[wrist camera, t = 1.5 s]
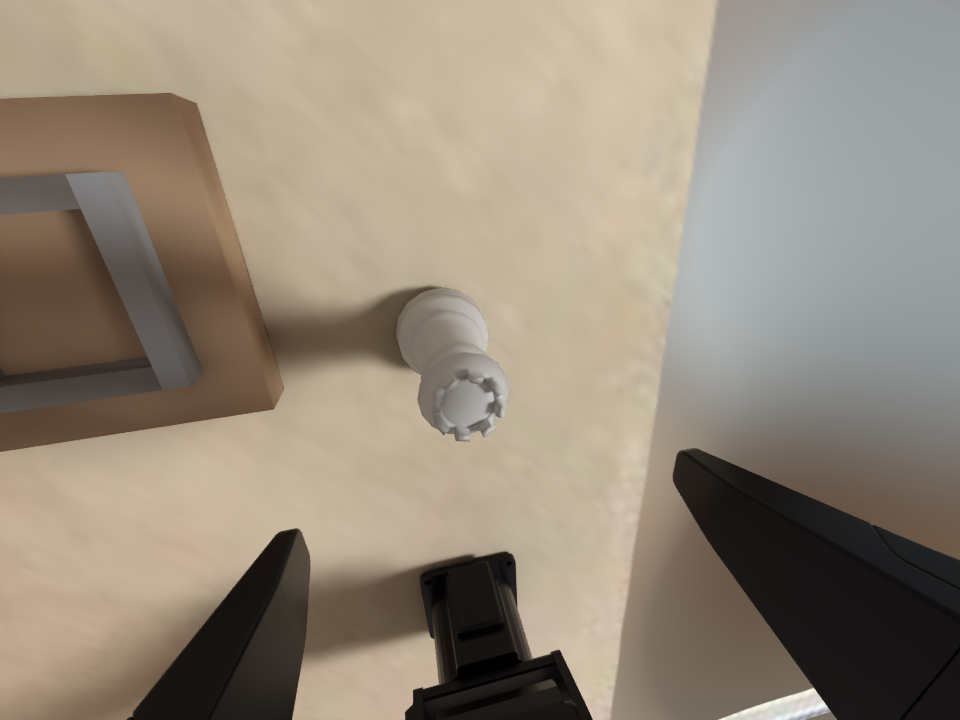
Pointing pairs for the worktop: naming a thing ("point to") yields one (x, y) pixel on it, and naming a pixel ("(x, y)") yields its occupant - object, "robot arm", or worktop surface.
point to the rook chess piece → (452, 363)
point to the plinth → (120, 274)
